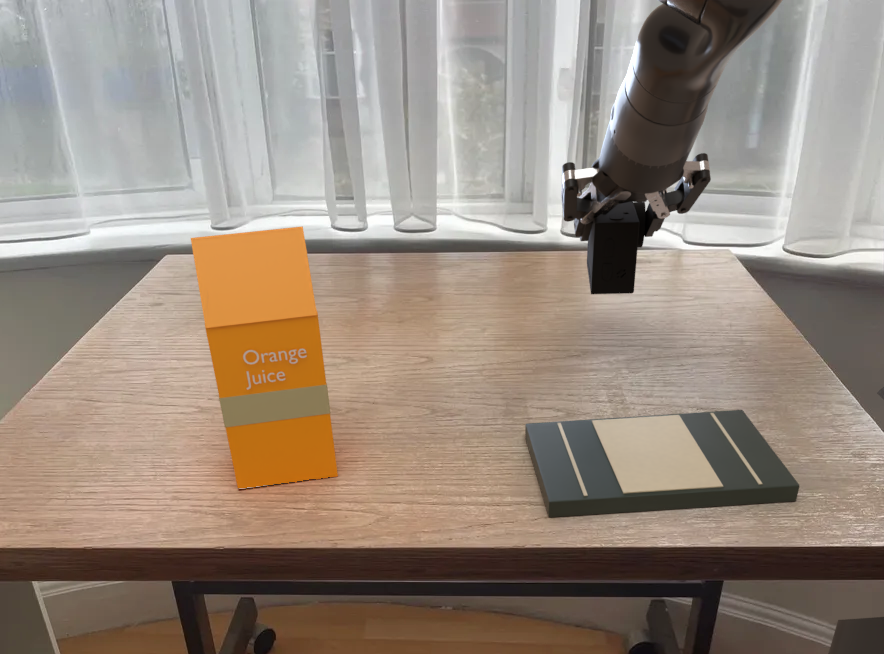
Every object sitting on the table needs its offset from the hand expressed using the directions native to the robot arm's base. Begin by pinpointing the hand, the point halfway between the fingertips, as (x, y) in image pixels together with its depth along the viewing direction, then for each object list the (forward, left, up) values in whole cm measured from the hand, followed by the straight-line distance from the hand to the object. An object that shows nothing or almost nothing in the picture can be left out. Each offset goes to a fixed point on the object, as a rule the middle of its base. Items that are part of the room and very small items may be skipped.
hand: (615, 230), depth 93 cm
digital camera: (0, +2, -5) cm, 5 cm away
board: (+2, +28, -12) cm, 31 cm away
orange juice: (+34, +23, -12) cm, 43 cm away
